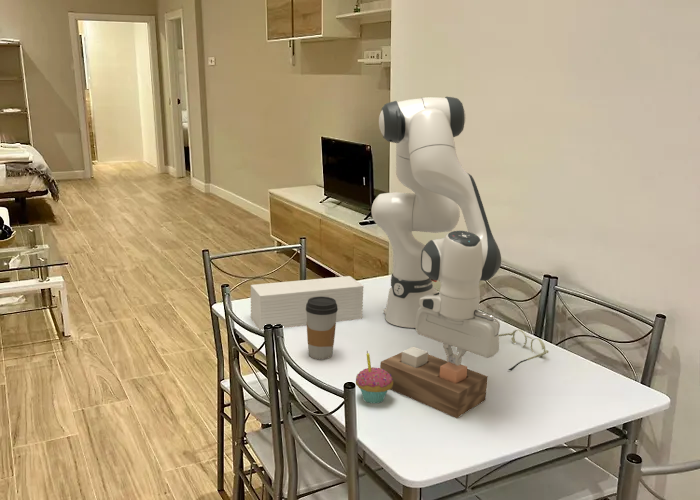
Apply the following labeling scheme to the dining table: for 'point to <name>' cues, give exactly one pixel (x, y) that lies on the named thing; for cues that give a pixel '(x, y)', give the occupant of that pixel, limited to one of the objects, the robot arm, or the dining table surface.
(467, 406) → the walnut key panel
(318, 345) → the coffee cup
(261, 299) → the stack of papers
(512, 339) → the round eyeglasses
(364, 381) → the cupcake
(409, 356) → the cream white cube
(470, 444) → the dining table surface
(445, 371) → the terracotta key
